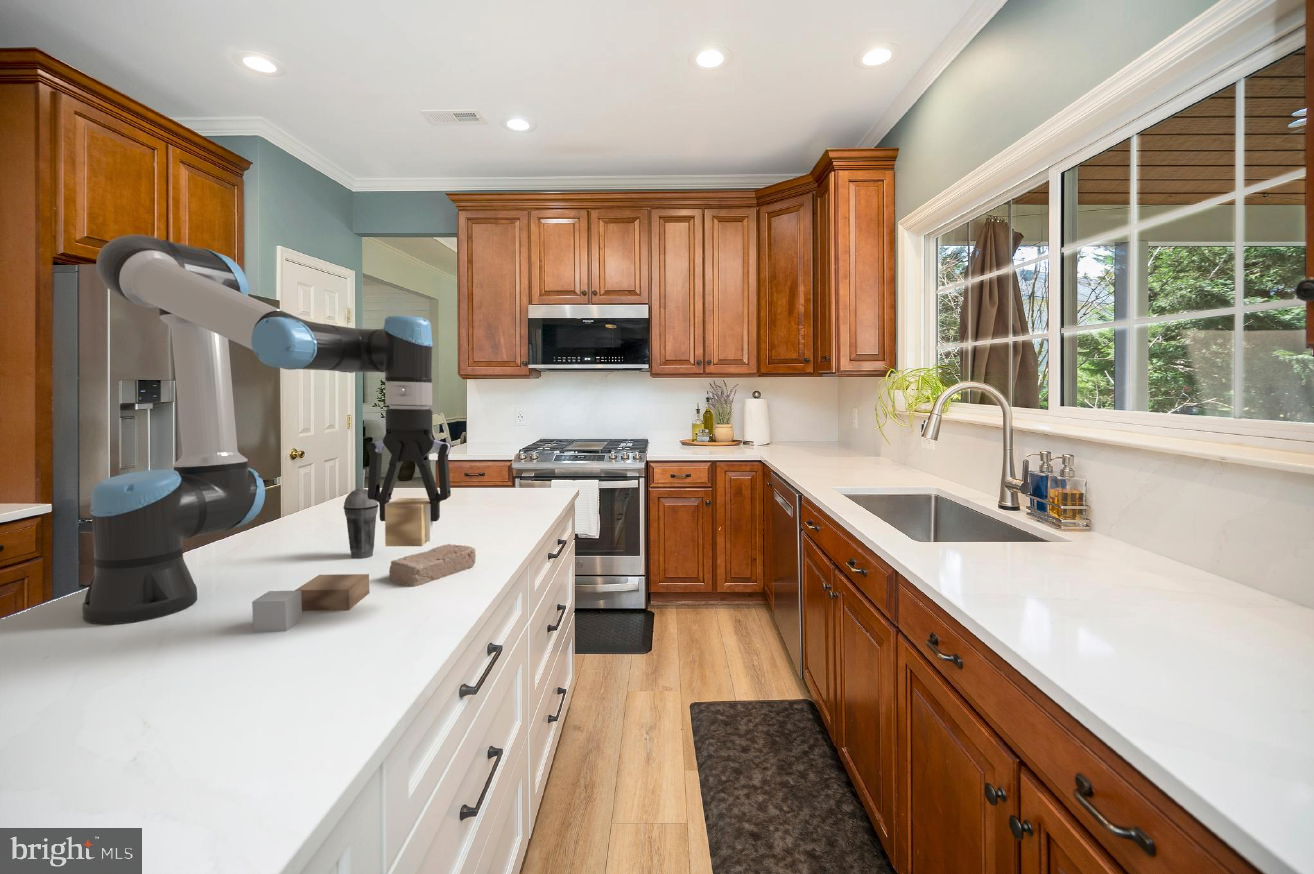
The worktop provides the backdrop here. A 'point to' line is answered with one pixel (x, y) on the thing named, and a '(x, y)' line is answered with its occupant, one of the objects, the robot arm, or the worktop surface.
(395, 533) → the oak block
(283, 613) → the grey block
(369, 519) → the beverage cup
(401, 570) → the brick
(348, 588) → the walnut block
